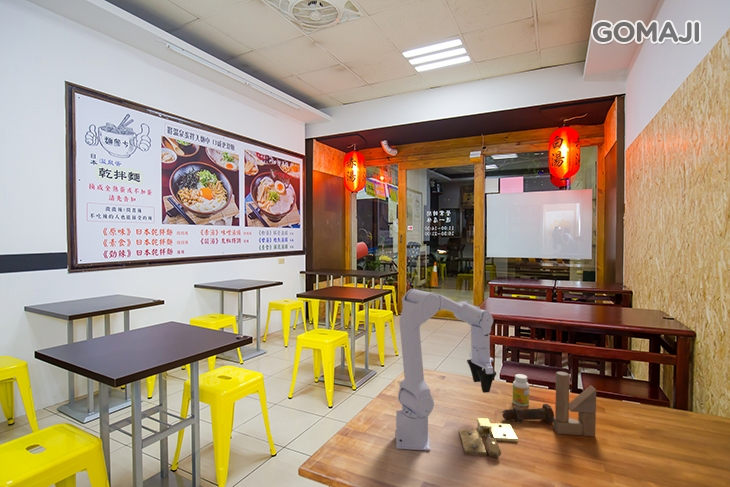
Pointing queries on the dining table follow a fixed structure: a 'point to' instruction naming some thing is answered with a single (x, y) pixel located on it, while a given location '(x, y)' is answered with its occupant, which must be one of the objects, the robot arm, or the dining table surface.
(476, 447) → the fixed leaf
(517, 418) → the bolt
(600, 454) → the dining table surface
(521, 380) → the supplement bottle
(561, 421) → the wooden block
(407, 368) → the robot arm
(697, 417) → the dining table surface
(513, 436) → the loose leaf
